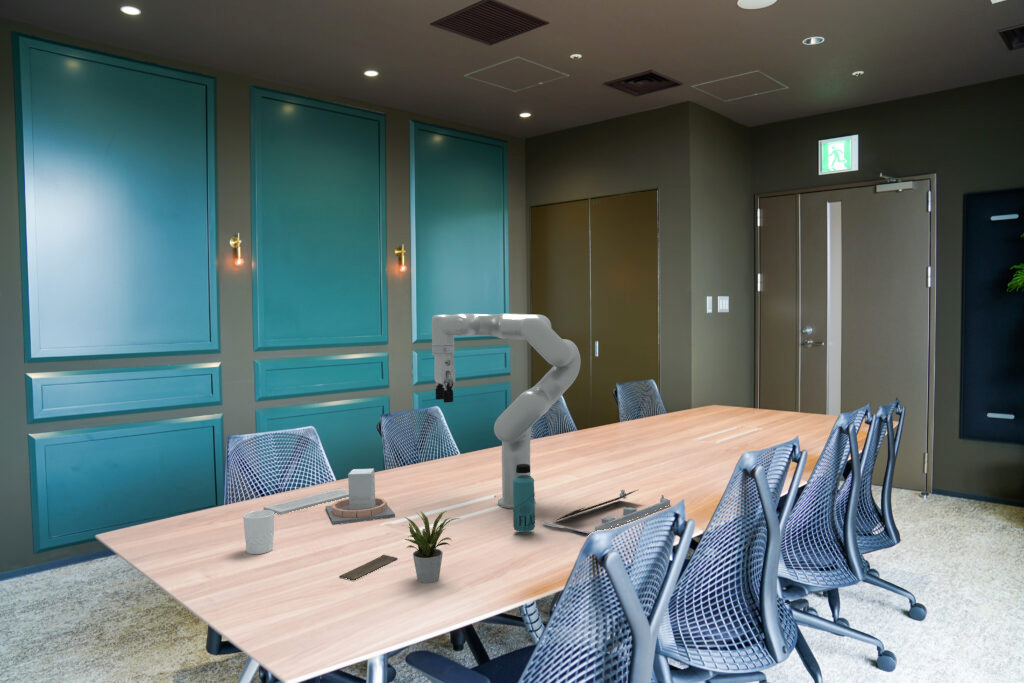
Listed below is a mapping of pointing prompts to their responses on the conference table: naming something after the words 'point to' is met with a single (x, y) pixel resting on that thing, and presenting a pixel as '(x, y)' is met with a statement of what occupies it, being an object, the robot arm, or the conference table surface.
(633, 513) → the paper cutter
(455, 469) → the conference table surface
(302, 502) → the plaque
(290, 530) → the conference table surface
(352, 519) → the ring holder
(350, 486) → the supplement box
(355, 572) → the wooden plank
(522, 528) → the beverage bottle
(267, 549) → the white cup
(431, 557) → the house plant
